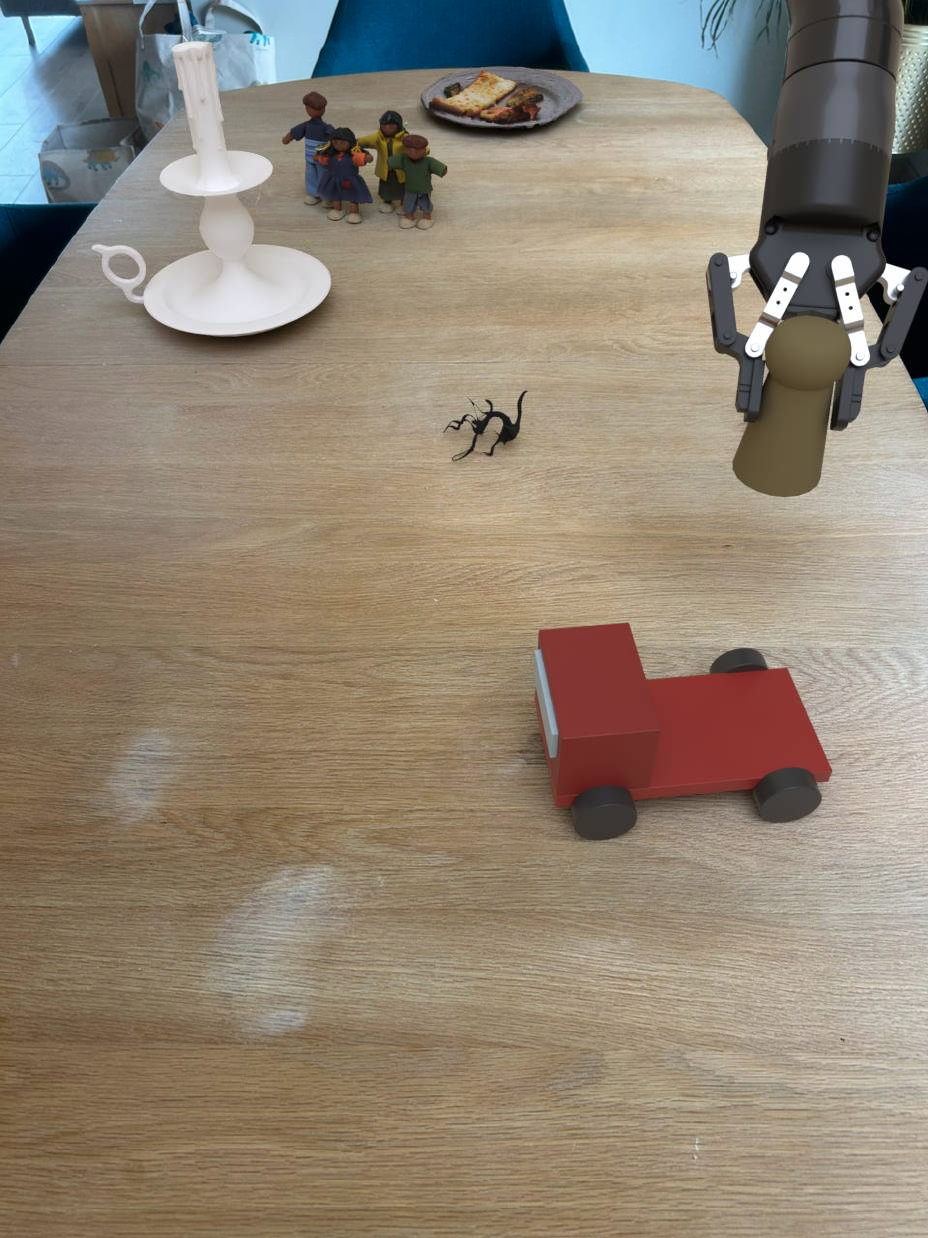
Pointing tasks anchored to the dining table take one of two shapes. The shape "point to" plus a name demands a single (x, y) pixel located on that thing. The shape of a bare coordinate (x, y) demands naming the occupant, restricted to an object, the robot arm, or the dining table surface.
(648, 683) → the toy truck
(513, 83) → the food plate
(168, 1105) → the dining table surface
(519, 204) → the dining table surface
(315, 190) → the doll family
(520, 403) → the creature
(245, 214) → the candlestick
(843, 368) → the brown peg doll
